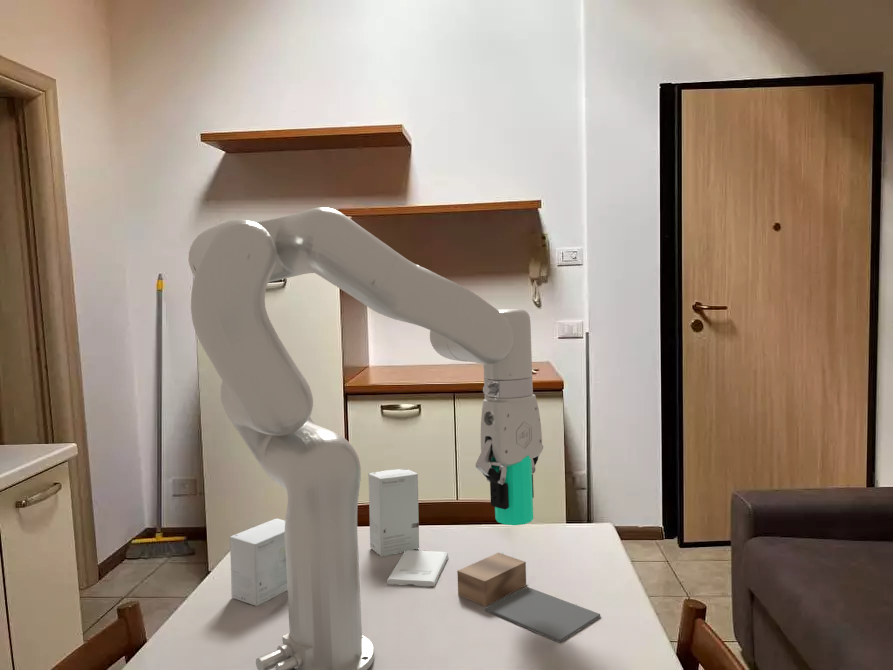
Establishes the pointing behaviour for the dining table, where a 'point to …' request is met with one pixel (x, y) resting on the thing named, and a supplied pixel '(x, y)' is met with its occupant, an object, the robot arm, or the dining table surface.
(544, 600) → the mat
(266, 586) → the skincare box
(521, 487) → the candle
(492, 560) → the step block
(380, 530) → the skincare box
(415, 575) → the external hard drive
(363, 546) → the dining table surface
